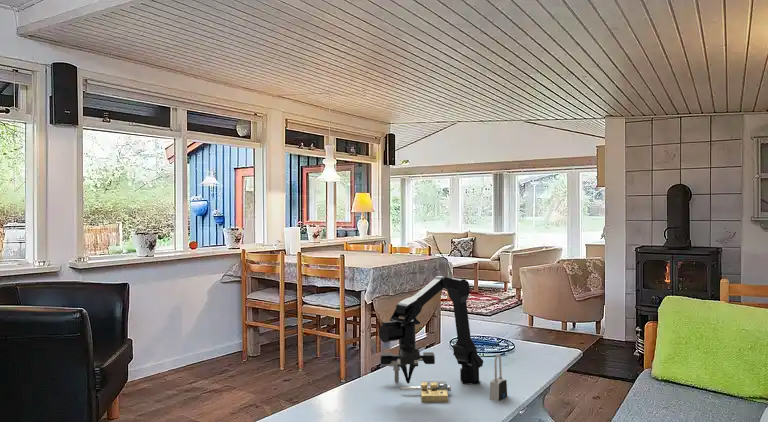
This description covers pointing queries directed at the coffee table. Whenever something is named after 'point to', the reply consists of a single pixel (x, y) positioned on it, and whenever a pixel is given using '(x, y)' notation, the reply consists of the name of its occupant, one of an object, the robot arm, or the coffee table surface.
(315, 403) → the coffee table surface
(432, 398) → the loose leaf
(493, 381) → the padlock
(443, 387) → the fixed leaf
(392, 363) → the mechanical component
